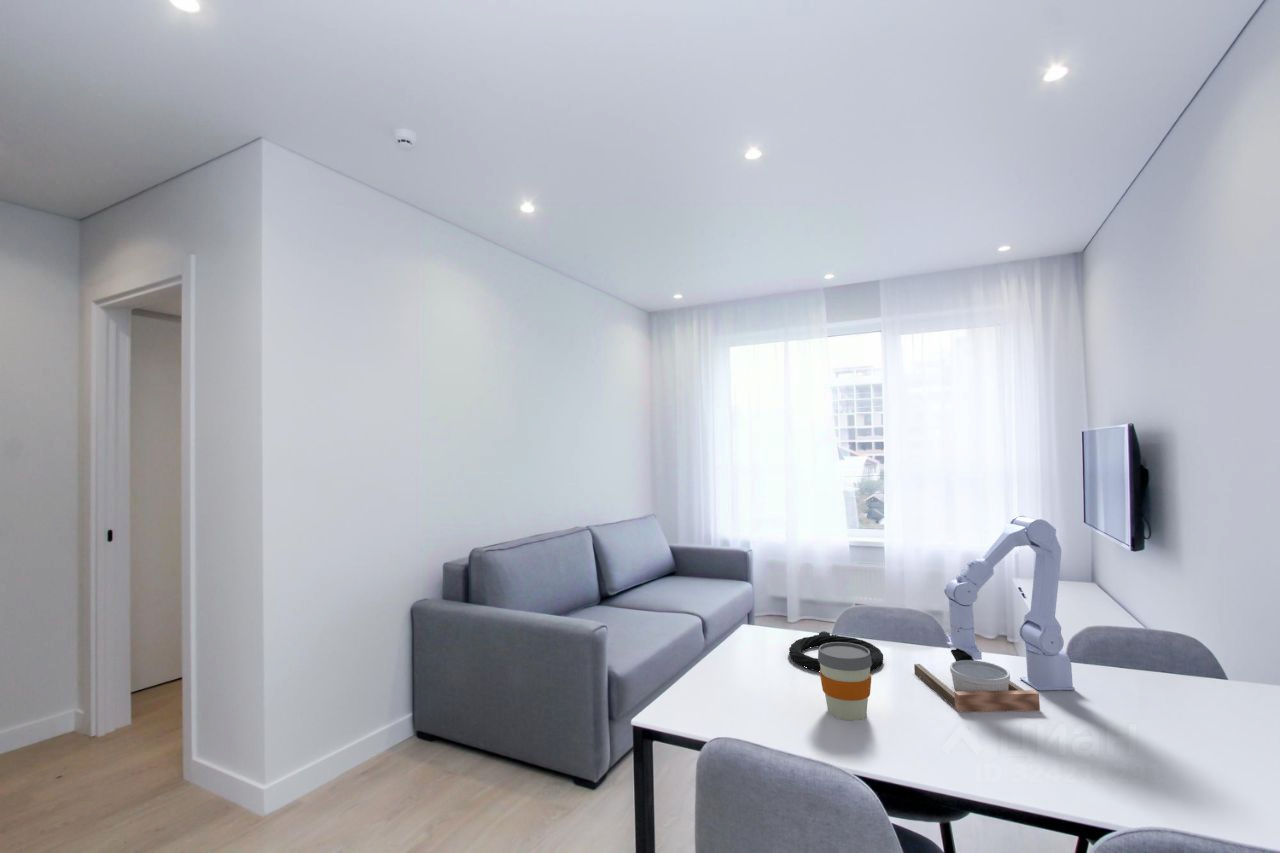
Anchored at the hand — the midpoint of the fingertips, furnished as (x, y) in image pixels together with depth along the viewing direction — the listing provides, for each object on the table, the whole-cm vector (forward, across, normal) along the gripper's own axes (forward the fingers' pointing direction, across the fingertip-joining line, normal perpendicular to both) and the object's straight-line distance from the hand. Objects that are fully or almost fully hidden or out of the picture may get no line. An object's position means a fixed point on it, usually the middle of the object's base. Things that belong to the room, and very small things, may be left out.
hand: (964, 677), depth 157 cm
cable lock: (+3, -23, -28) cm, 36 cm away
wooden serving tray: (+2, +3, 0) cm, 3 cm away
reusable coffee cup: (+2, +15, -36) cm, 39 cm away
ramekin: (+2, +8, 0) cm, 8 cm away
